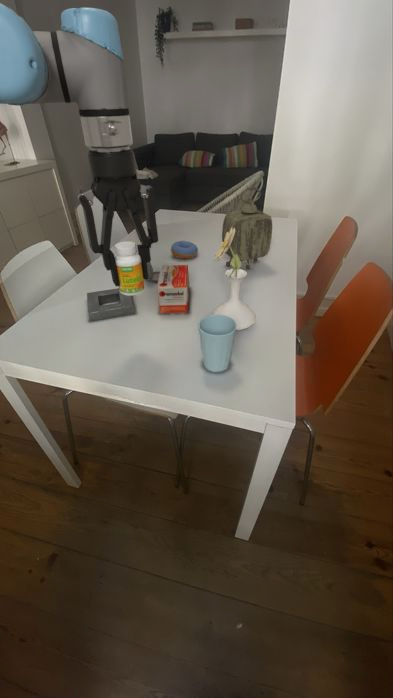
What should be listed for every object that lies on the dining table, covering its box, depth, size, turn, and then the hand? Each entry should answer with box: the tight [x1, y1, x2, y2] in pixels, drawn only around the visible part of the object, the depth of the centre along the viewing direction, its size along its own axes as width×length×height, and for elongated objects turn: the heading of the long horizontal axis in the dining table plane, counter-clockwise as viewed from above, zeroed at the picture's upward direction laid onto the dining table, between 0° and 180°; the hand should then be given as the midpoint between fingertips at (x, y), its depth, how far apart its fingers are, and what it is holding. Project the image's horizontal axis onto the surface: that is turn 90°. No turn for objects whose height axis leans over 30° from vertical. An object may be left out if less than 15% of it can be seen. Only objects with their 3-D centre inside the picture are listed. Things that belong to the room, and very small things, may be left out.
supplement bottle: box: [114, 240, 146, 297], centre depth 64 cm, size 5×5×10 cm
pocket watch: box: [147, 261, 160, 283], centre depth 101 cm, size 8×8×10 cm
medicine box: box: [156, 264, 190, 314], centre depth 90 cm, size 15×8×8 cm, turn 1°
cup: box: [197, 314, 237, 373], centre depth 67 cm, size 8×8×10 cm
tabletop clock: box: [221, 186, 273, 270], centre depth 103 cm, size 14×9×25 cm, turn 111°
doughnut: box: [170, 240, 199, 260], centre depth 118 cm, size 10×10×5 cm
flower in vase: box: [211, 227, 256, 332], centre depth 74 cm, size 13×11×25 cm
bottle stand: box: [86, 287, 135, 322], centre depth 89 cm, size 12×12×2 cm
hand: (130, 280), depth 66 cm, fingers closed on supplement bottle, 5 cm apart
